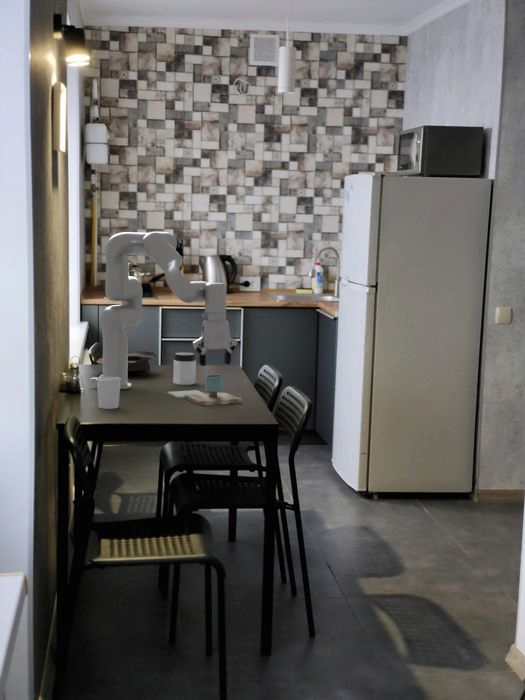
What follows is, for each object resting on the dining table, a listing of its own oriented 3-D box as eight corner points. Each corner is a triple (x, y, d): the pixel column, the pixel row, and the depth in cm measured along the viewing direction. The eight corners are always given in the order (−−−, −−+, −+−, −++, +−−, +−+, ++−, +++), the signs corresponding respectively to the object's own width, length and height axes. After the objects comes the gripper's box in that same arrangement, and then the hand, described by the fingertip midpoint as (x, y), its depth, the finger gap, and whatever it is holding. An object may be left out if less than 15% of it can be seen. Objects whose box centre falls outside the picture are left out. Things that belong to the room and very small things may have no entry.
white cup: (99, 404, 321) (99, 376, 319) (122, 405, 320) (122, 377, 319) (94, 409, 313) (94, 379, 312) (117, 409, 313) (118, 380, 311)
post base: (200, 405, 324) (201, 383, 323) (185, 398, 336) (185, 377, 335) (241, 402, 332) (242, 380, 331) (224, 396, 344) (225, 375, 343)
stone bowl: (168, 373, 391) (167, 352, 390) (123, 384, 373) (122, 362, 371) (129, 366, 407) (128, 345, 405) (84, 376, 388) (83, 354, 387)
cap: (209, 391, 329) (209, 376, 329) (202, 389, 335) (202, 374, 334) (224, 390, 332) (224, 375, 332) (217, 388, 338) (217, 373, 337)
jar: (199, 384, 369) (199, 354, 367) (182, 385, 364) (183, 355, 362) (186, 380, 376) (187, 351, 374) (169, 382, 370) (170, 352, 369)
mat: (177, 398, 337) (177, 396, 337) (167, 393, 346) (167, 391, 346) (207, 396, 343) (207, 394, 343) (196, 391, 352) (196, 390, 352)
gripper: (197, 318, 323) (197, 367, 325) (241, 317, 331) (241, 364, 333) (188, 317, 329) (188, 364, 331) (232, 315, 337) (232, 362, 339)
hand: (215, 364), depth 332 cm, fingers open, 9 cm apart
